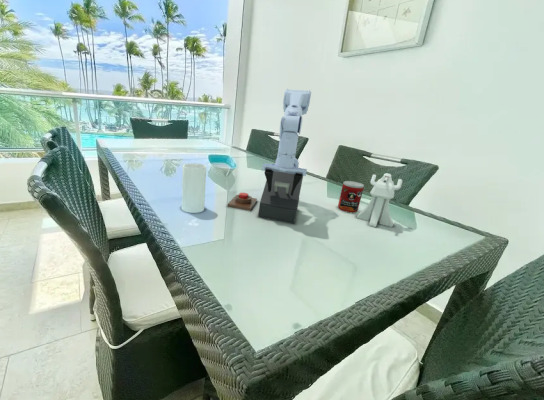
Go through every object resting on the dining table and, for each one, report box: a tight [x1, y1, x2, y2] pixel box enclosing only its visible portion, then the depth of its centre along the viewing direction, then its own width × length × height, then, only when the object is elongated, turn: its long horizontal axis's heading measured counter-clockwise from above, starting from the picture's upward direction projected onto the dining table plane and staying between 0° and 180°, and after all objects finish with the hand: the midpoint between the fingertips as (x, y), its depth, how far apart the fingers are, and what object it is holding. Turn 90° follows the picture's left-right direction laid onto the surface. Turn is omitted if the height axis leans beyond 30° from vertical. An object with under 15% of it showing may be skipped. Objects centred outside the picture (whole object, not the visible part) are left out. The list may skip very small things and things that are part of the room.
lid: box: [259, 171, 304, 211], centre depth 96 cm, size 16×13×5 cm
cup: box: [181, 162, 207, 214], centre depth 97 cm, size 8×8×16 cm
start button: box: [238, 192, 249, 199], centre depth 107 cm, size 4×4×2 cm
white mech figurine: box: [356, 172, 403, 228], centre depth 98 cm, size 12×13×18 cm
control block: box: [227, 193, 258, 212], centre depth 108 cm, size 12×9×3 cm
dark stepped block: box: [257, 199, 300, 225], centre depth 101 cm, size 16×13×5 cm
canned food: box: [337, 180, 365, 214], centre depth 110 cm, size 8×8×11 cm
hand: (280, 192), depth 94 cm, fingers open, 7 cm apart
